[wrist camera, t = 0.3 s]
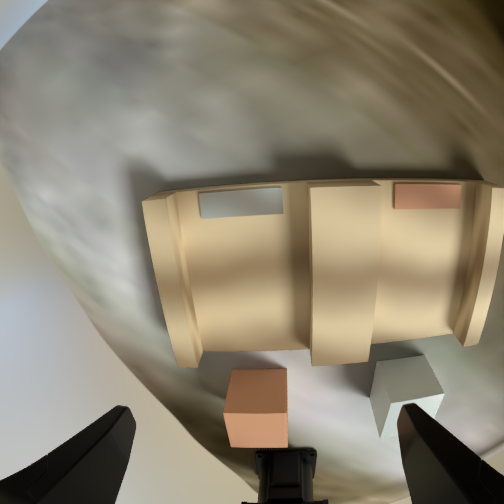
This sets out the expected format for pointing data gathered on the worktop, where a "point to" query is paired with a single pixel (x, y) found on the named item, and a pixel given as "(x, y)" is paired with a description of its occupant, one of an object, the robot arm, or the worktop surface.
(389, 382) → the blue-grey block
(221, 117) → the worktop surface
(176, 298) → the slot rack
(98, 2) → the worktop surface
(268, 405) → the terracotta block
